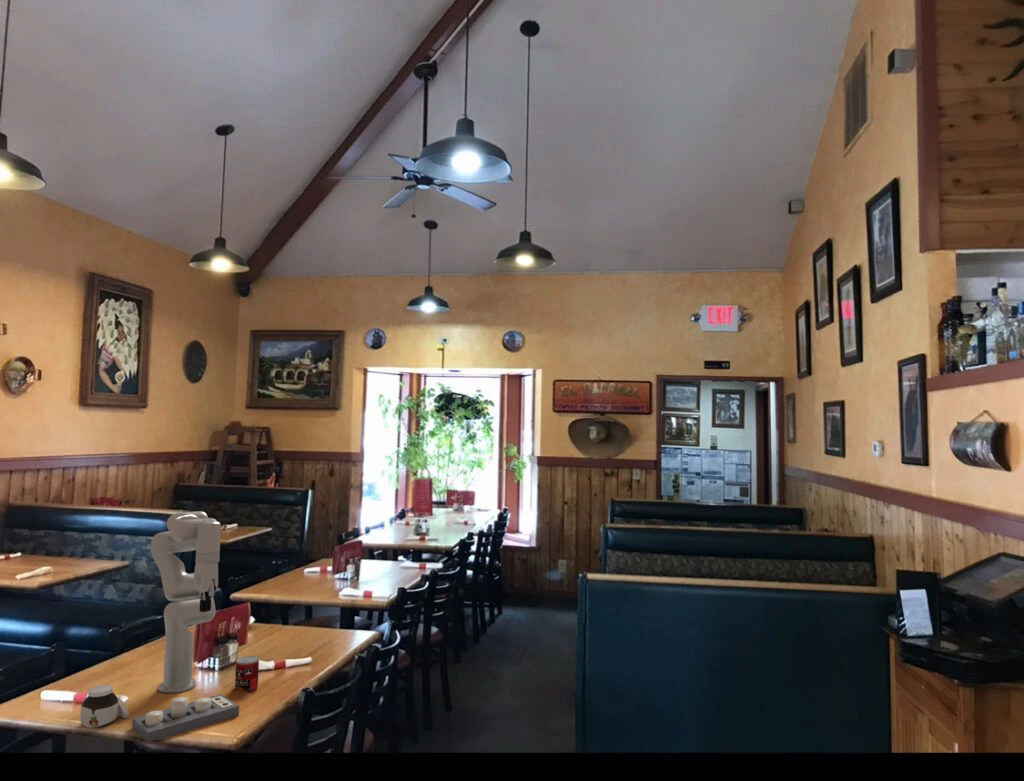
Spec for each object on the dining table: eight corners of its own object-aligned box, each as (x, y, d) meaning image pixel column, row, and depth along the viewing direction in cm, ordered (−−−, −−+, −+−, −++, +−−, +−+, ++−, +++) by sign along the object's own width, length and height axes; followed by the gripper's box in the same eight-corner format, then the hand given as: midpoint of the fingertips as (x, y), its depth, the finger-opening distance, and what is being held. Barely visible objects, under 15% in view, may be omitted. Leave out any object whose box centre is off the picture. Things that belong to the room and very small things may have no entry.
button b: (168, 715, 214) (169, 699, 214) (183, 711, 217) (184, 695, 217) (173, 720, 210) (174, 704, 211) (189, 715, 214) (190, 700, 214)
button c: (142, 730, 208) (143, 713, 208) (158, 725, 212) (159, 709, 212) (148, 735, 205) (148, 718, 205) (164, 730, 208) (165, 713, 209)
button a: (192, 715, 219) (192, 700, 219) (206, 711, 222) (207, 696, 223) (197, 720, 216) (198, 704, 216) (212, 716, 219) (213, 700, 219)
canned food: (230, 691, 243) (231, 661, 244) (246, 684, 250) (247, 654, 251) (246, 695, 240) (247, 664, 241) (262, 687, 247) (263, 657, 248)
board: (131, 731, 210) (132, 717, 210) (220, 706, 230) (221, 693, 231) (147, 746, 200) (148, 731, 201) (238, 718, 221) (239, 704, 221)
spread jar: (75, 729, 211) (77, 691, 211) (102, 714, 222) (104, 679, 222) (108, 733, 209) (110, 695, 209) (134, 718, 220) (136, 681, 220)
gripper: (187, 555, 233) (185, 608, 232) (205, 561, 223) (202, 617, 222) (209, 553, 238) (207, 605, 237) (227, 559, 228) (225, 613, 227)
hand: (205, 611), depth 229 cm, fingers closed
